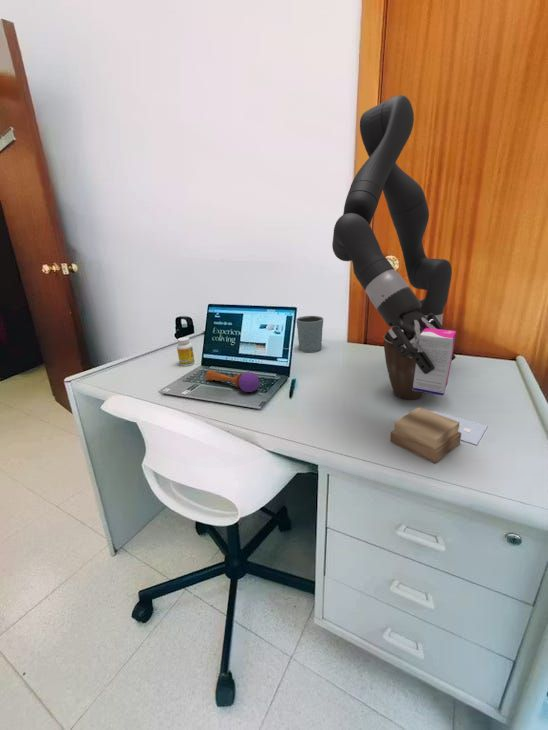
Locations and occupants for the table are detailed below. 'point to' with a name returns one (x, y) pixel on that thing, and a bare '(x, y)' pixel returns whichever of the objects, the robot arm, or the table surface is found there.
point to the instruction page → (467, 429)
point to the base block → (426, 434)
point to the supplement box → (435, 360)
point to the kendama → (237, 380)
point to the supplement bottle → (185, 352)
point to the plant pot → (400, 371)
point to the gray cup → (310, 333)
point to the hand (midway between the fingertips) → (441, 365)
